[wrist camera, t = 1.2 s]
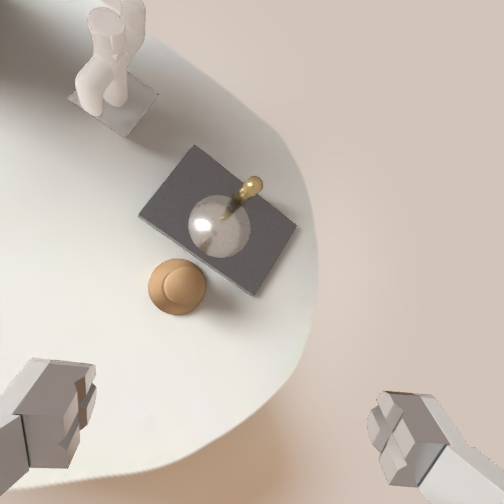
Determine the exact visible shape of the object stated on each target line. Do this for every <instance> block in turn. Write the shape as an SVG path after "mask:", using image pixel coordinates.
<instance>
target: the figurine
mask: <svg viewBox="0 0 504 504" xmlns="http://www.w3.org/2000/svg"><path fill="white" fill-rule="evenodd" d="M120 2H121V16H119V15H118V14H117V13H116V12H115V11H113V10H111V9H109V8H104V7H100V8H96V9H93V10H92V11H91V12H90V13H89V15H88V18H87V22H88V26H89V30H90V33H91V37H92V40H93V56H92V58H91V59H90V60H89V61H88V62H87V63H86V65H85V66H84V67H83V68H82V69H81V70H80V72H79V73H78V74H77V76H76V79H75V86H76V89H75V90H74V91H73V93H72V94H71V95H70V96H69V97H68V98H67V99H68V100H69V101H71V102H72V103H74V104H75V105H77V106H78V107H80V108H81V109H83V110H84V111H86V112H87V113H89V114H90V115H92V116H93V117H95V118H96V119H98V120H99V121H101V122H102V123H104V124H105V125H107V126H108V127H110V128H111V129H113V130H114V131H116V132H117V133H119V134H120V135H122V136H123V137H125V138H126V137H127V136H128V135H129V133H130V132H131V131H132V129H133V128H134V127H135V125H136V124H137V123H138V121H139V120H140V119H141V117H142V116H143V115H144V113H145V112H146V111H147V109H148V108H149V107H150V105H151V104H152V103H153V102H154V100H155V99H156V98H157V96H158V95H159V94H158V93H157V92H155V91H154V90H153V89H151V88H150V87H148V86H147V85H146V84H144V83H143V82H142V81H140V80H139V79H137V78H136V77H135V76H133V75H132V74H130V73H129V72H128V71H127V67H128V63H129V61H130V59H131V58H132V56H133V55H134V54H135V53H136V52H137V50H138V49H139V48H140V47H141V45H142V43H143V41H144V36H145V15H146V14H145V13H146V11H145V6H144V3H143V1H142V0H121V1H120Z"/></svg>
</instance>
